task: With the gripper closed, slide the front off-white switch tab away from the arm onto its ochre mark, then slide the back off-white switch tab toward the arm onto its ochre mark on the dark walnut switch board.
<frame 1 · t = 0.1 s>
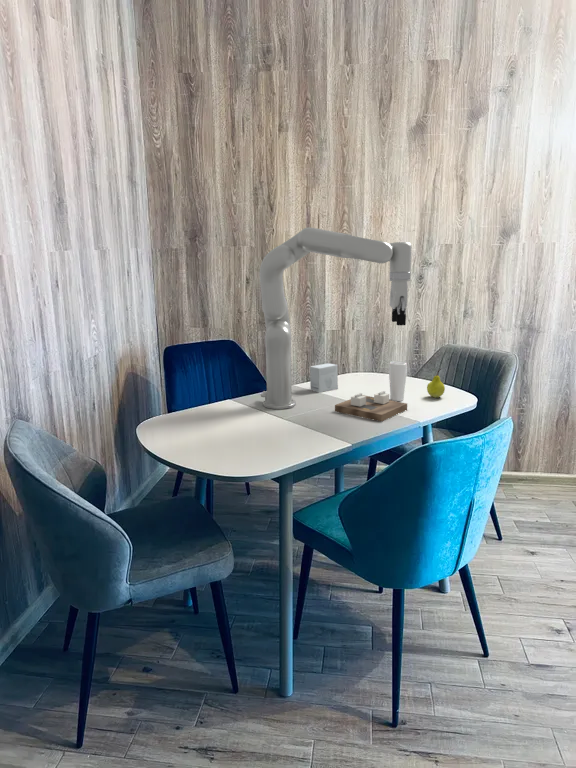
hand: (398, 323, 211), 31 cm above the table, tool pointing down, fingers open, 9 cm apart
front tab: (358, 399, 208), point 5 cm above the table, slide at 0.0 cm
drinking glass: (396, 400, 224), on the table
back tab: (381, 397, 210), point 5 cm above the table, slide at 5.0 cm
skincare box: (323, 389, 242), on the table
fruit: (435, 397, 227), on the table
switch board: (371, 410, 210), on the table
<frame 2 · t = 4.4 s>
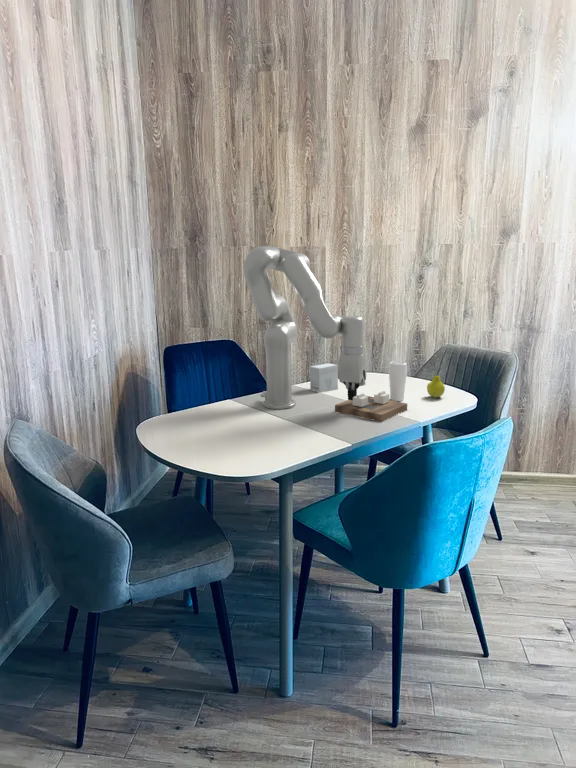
hand: (352, 399, 210), 4 cm above the table, tool pointing down, fingers closed
front tab: (360, 399, 207), point 5 cm above the table, slide at 0.9 cm, touching gripper
everything else where it was.
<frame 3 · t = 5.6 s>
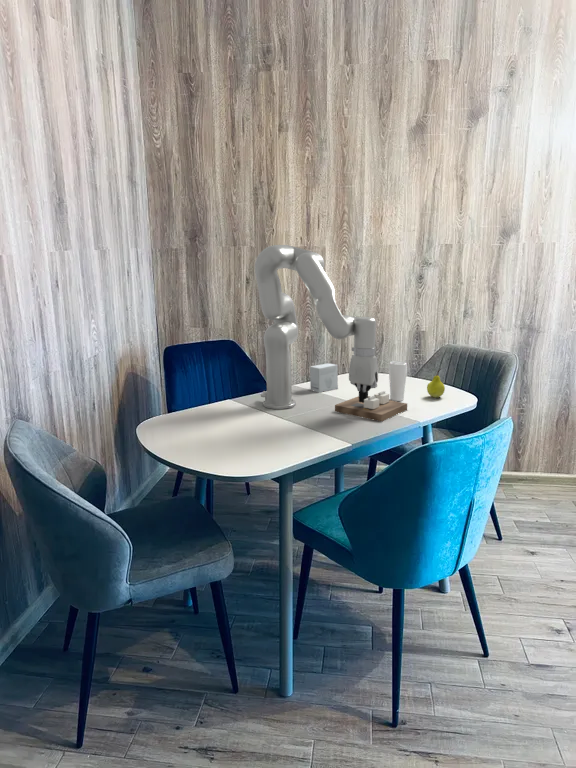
hand: (363, 401, 206), 4 cm above the table, tool pointing down, fingers closed
front tab: (371, 402, 204), point 5 cm above the table, slide at 5.7 cm, touching gripper
everything else where it was.
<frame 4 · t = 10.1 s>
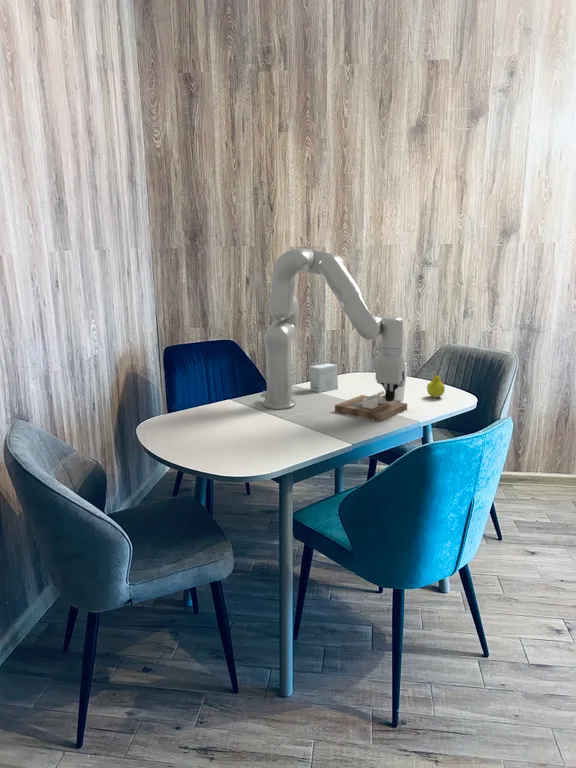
hand: (389, 400, 208), 4 cm above the table, tool pointing down, fingers closed
front tab: (370, 401, 204), point 5 cm above the table, slide at 5.1 cm
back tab: (380, 397, 211), point 5 cm above the table, slide at 4.7 cm, touching gripper
everything else where it was.
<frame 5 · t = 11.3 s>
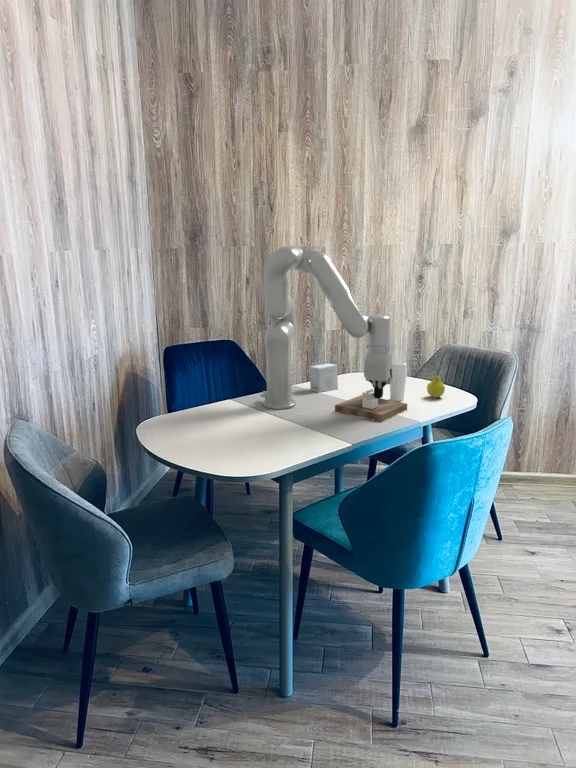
hand: (378, 397, 211), 4 cm above the table, tool pointing down, fingers closed
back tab: (369, 394, 214), point 5 cm above the table, slide at -0.2 cm, touching gripper
everything else where it was.
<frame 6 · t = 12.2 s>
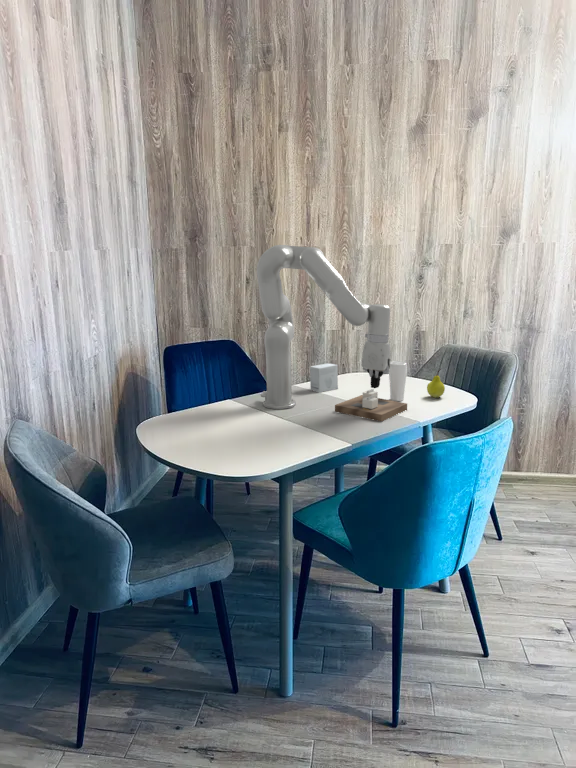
hand: (374, 387, 211), 8 cm above the table, tool pointing down, fingers closed
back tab: (370, 395, 214), point 5 cm above the table, slide at -0.1 cm
everything else where it was.
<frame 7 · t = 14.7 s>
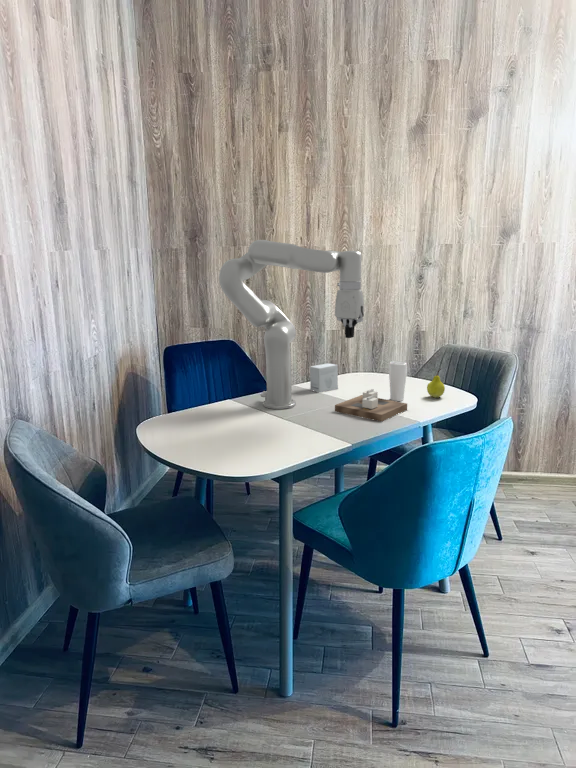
hand: (349, 337, 206), 27 cm above the table, tool pointing down, fingers closed
nothing on the table moved.
at the end: front tab slide at 5.1 cm; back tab slide at -0.1 cm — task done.
